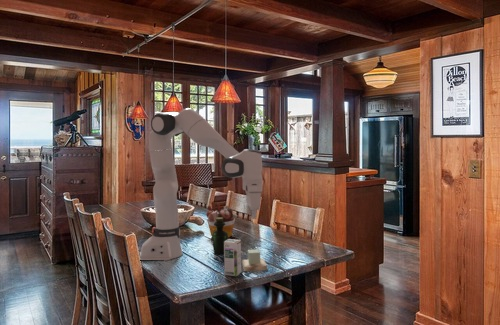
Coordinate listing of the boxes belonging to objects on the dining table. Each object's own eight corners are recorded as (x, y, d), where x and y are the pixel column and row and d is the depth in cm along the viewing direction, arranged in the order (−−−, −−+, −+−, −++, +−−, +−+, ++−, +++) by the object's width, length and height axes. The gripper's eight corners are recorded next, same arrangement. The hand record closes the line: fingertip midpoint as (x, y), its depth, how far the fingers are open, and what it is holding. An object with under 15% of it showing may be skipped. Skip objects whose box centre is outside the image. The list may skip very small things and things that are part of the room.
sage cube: (249, 264, 174) (248, 253, 173) (247, 260, 178) (247, 249, 178) (260, 263, 174) (260, 252, 174) (258, 260, 179) (258, 249, 179)
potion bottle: (227, 250, 203) (226, 216, 202) (229, 255, 195) (228, 219, 194) (211, 251, 202) (210, 217, 201) (213, 256, 194) (211, 220, 193)
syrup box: (224, 275, 167) (223, 241, 166) (229, 270, 172) (229, 238, 171) (236, 276, 164) (235, 242, 164) (241, 272, 170) (241, 239, 169)
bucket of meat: (242, 237, 229) (241, 203, 227) (217, 242, 220) (216, 207, 218) (224, 231, 245) (223, 199, 244) (200, 235, 236) (199, 202, 235)
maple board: (244, 271, 171) (244, 266, 171) (241, 264, 181) (241, 259, 181) (266, 269, 172) (266, 265, 172) (263, 262, 182) (263, 258, 182)
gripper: (243, 183, 184) (243, 212, 185) (248, 188, 164) (248, 221, 165) (256, 182, 185) (256, 211, 186) (263, 188, 164) (263, 220, 165)
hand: (252, 216), depth 175 cm, fingers open, 8 cm apart
